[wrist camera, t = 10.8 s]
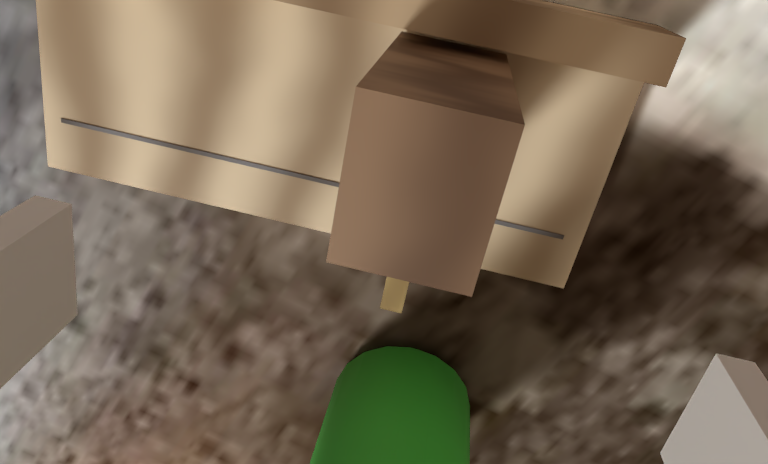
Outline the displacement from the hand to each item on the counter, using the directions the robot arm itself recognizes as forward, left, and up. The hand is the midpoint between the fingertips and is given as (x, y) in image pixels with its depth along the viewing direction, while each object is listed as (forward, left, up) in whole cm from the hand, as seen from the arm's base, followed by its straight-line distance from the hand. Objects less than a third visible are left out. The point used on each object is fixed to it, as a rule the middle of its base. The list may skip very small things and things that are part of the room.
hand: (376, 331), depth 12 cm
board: (-6, -1, -21) cm, 21 cm away
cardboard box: (0, -4, -19) cm, 20 cm away
